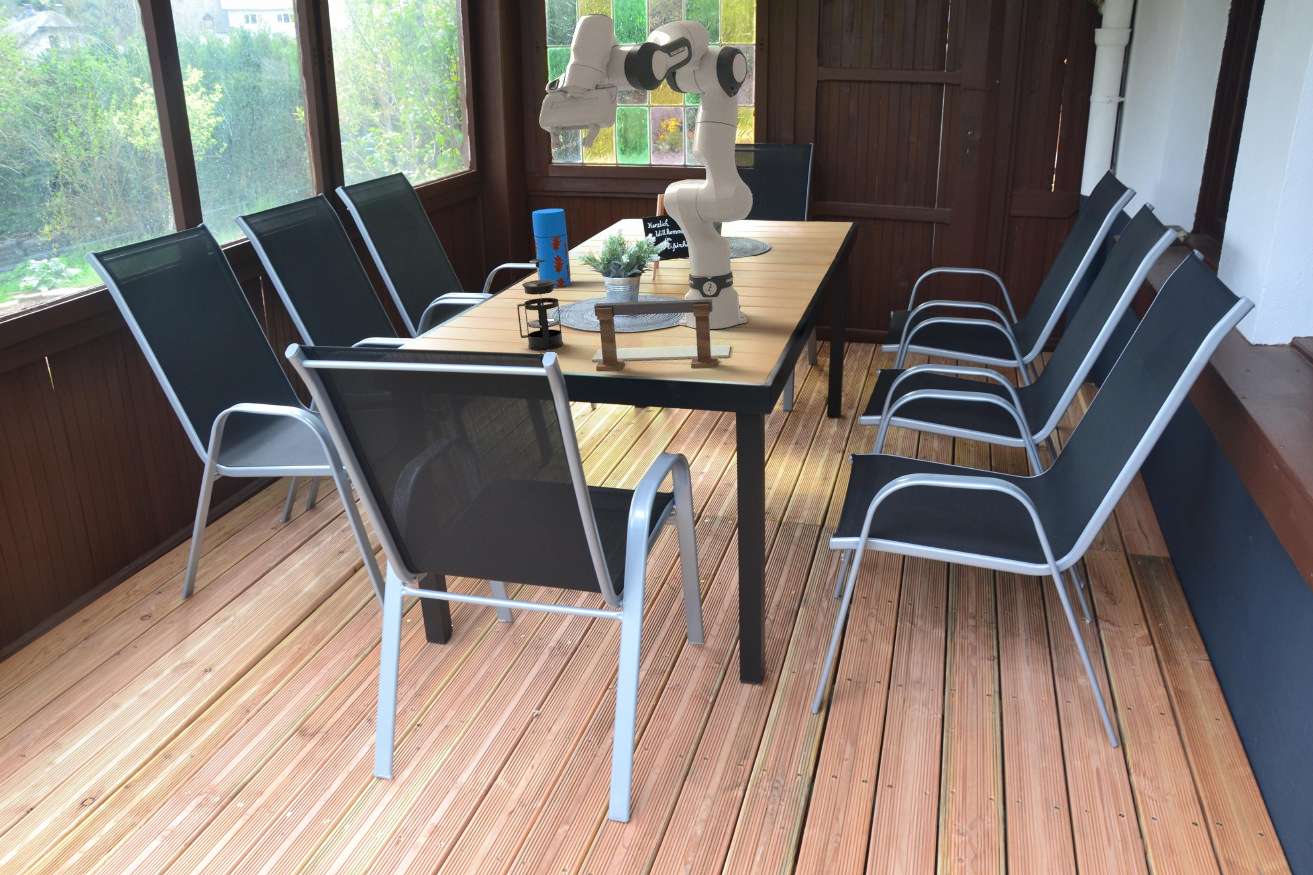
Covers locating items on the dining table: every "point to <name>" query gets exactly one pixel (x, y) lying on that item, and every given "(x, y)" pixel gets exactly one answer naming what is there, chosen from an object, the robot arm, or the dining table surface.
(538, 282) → the french press
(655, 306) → the rail
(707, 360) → the stands
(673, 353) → the mat
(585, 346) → the dining table surface
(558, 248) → the thermos
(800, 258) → the dining table surface
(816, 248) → the dining table surface
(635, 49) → the robot arm
